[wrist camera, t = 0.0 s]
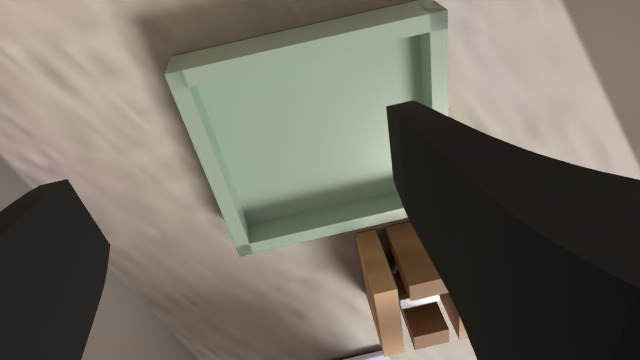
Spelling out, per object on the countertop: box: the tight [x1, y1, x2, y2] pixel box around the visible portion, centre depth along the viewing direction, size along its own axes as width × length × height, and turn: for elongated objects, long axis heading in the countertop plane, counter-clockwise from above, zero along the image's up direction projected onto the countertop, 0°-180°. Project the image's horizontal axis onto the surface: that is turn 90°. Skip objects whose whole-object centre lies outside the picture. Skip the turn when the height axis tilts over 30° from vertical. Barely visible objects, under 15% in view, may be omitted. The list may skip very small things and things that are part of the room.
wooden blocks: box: [355, 221, 468, 357], centre depth 25 cm, size 6×7×4 cm
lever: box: [387, 250, 440, 310], centre depth 26 cm, size 2×2×3 cm
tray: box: [164, 0, 448, 256], centre depth 20 cm, size 10×11×2 cm
